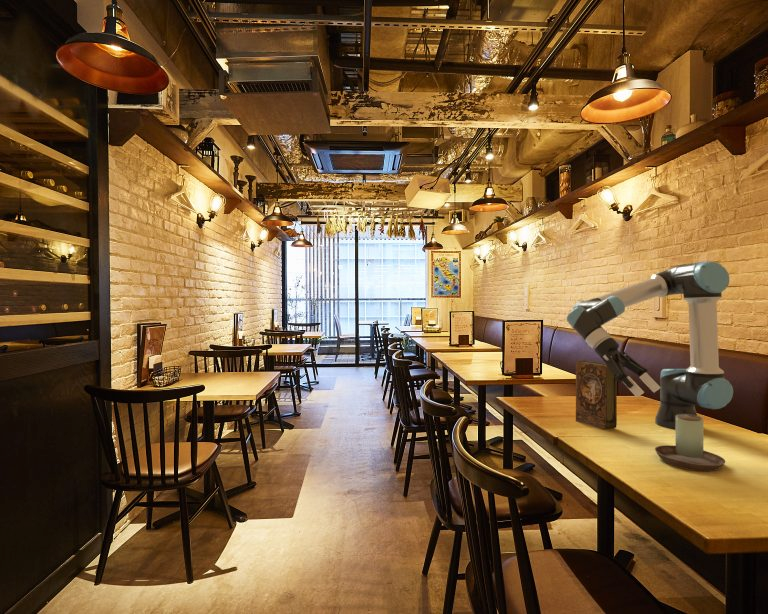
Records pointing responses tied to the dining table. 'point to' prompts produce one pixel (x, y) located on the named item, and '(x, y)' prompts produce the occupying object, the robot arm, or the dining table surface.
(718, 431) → the dining table surface
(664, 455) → the plant saucer
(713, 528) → the dining table surface
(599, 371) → the book
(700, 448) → the pale green cup
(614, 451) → the dining table surface
